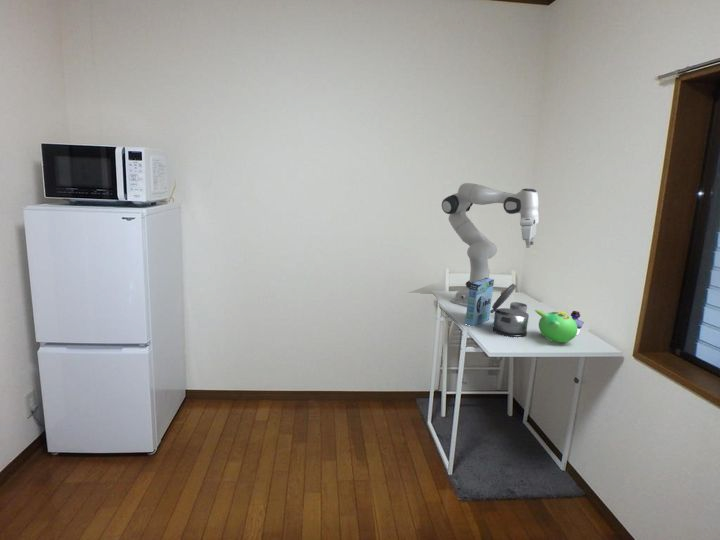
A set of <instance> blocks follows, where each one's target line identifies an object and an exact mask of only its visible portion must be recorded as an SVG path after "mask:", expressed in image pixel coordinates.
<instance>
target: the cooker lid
mask: <svg viewBox="0 0 720 540" xmlns="http://www.w3.org/2000/svg"><path fill="white" fill-rule="evenodd" d="M516 287H517V285H516V284H514V283H512V284H510V285H509V286H508V287H507V288H506V289H503V290H502V291H501V292H500V296H499V297H497V299H496V300H495V302H494V303H493V305H492V306H491V307H492V309H490V314H495V310H496V309H499V307H500V306H502V305H503V303H504V302H505V301H507V299H508V298H509V297H510V296H511V295H512V294H513V292H514V291H515V289H516Z"/></svg>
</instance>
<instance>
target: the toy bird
mask: <svg viewBox="0 0 720 540" xmlns="http://www.w3.org/2000/svg"><path fill="white" fill-rule="evenodd" d="M534 311H535V313H536V314H538V315H539V317H540V319H539V321H538V329H539V332H540V333H541V335H543V337H545V338H546V339H548V340H549V341H552V342H555V343H567V342H570V341H572V340H574V338H575V337H576V334H577V330H578V329H577V325H576V323H575V321H574V320H573V319H572V316H571V315H568V314H567V311H551V312H548V313H547V312H545V311H542V310H538V309H535V310H534Z"/></svg>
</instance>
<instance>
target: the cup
mask: <svg viewBox="0 0 720 540" xmlns="http://www.w3.org/2000/svg"><path fill="white" fill-rule="evenodd" d="M527 308H528V305H527V303H523V302H513V301H512V302H510V306H509V309H516V310H520V311H523V312H526V313H527Z"/></svg>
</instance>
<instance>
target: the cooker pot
mask: <svg viewBox="0 0 720 540" xmlns="http://www.w3.org/2000/svg"><path fill="white" fill-rule="evenodd" d="M529 316H530V315H529V313H527V311H526V312H523V311H520V310H516V309H510V307H508V308H507V307H506V308H505V307H503V308H497V309H496V310H495V312H494V317H493V325H492V332H494V333H495V334H497V333H498V334H497V335H499V334H500V335H499V336H502V335H504V336H503V337H507V336H508V337H509V338H514V337H517V338H518V337H521V338H525V337H526V336H528V335H527V334H528V332H527V330H528V325H529V324H528V323H529ZM508 337H507V338H508Z"/></svg>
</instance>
